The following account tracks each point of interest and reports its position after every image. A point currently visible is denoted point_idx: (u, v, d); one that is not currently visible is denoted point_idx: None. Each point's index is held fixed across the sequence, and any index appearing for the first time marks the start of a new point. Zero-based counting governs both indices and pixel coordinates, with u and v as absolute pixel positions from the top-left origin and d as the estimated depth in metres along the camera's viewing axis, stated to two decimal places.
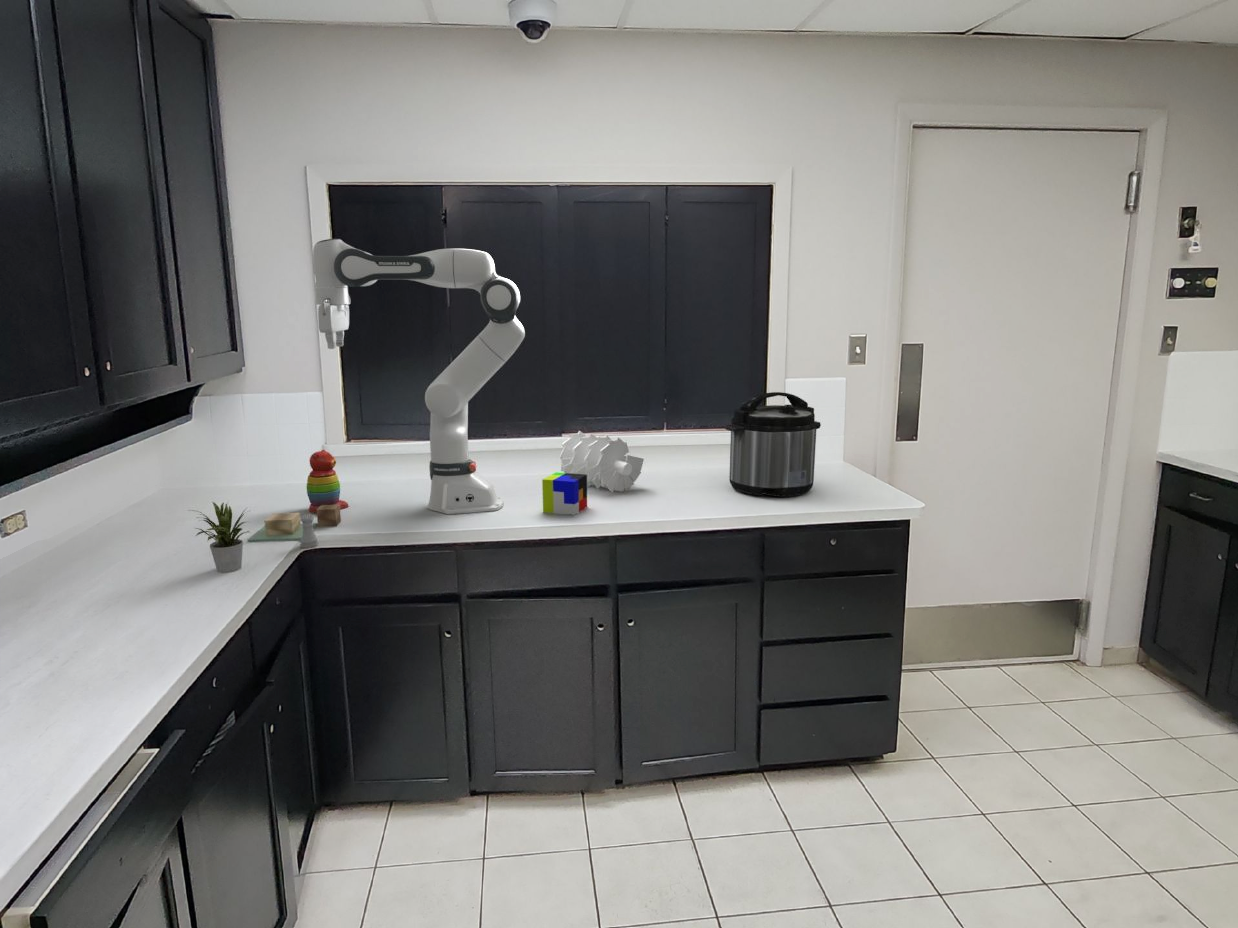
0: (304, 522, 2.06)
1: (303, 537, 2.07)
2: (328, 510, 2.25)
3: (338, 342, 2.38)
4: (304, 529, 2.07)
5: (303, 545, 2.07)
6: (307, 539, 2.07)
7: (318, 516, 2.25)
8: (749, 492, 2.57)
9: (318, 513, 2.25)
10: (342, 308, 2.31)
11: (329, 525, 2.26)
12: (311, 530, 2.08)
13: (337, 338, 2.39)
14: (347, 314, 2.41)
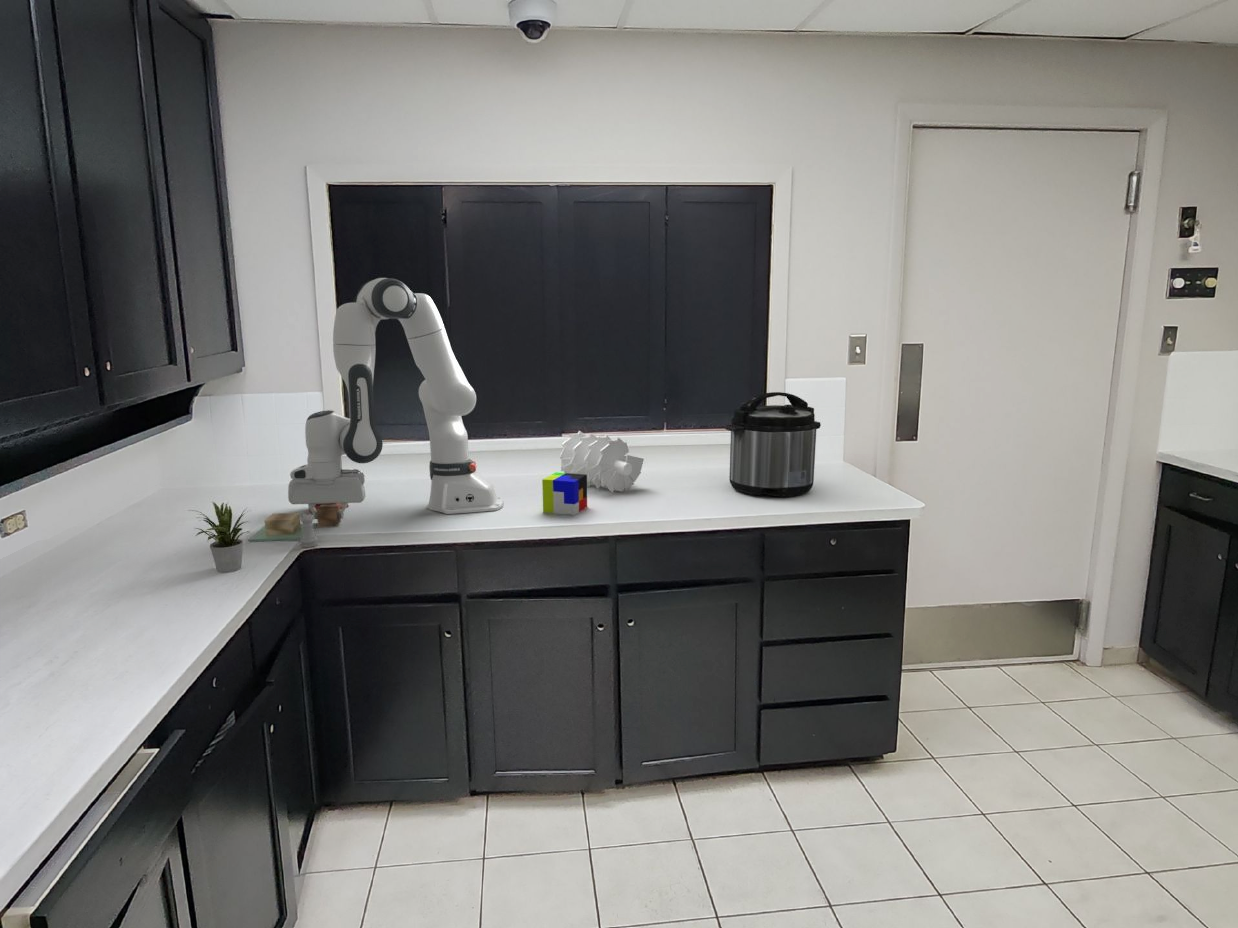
0: (304, 522, 2.06)
1: (303, 537, 2.07)
2: (328, 510, 2.25)
3: None
4: (304, 529, 2.07)
5: (303, 545, 2.07)
6: (307, 539, 2.07)
7: (318, 516, 2.25)
8: (749, 492, 2.57)
9: (318, 513, 2.25)
10: None
11: (329, 525, 2.26)
12: (311, 530, 2.08)
13: (314, 511, 2.27)
14: None
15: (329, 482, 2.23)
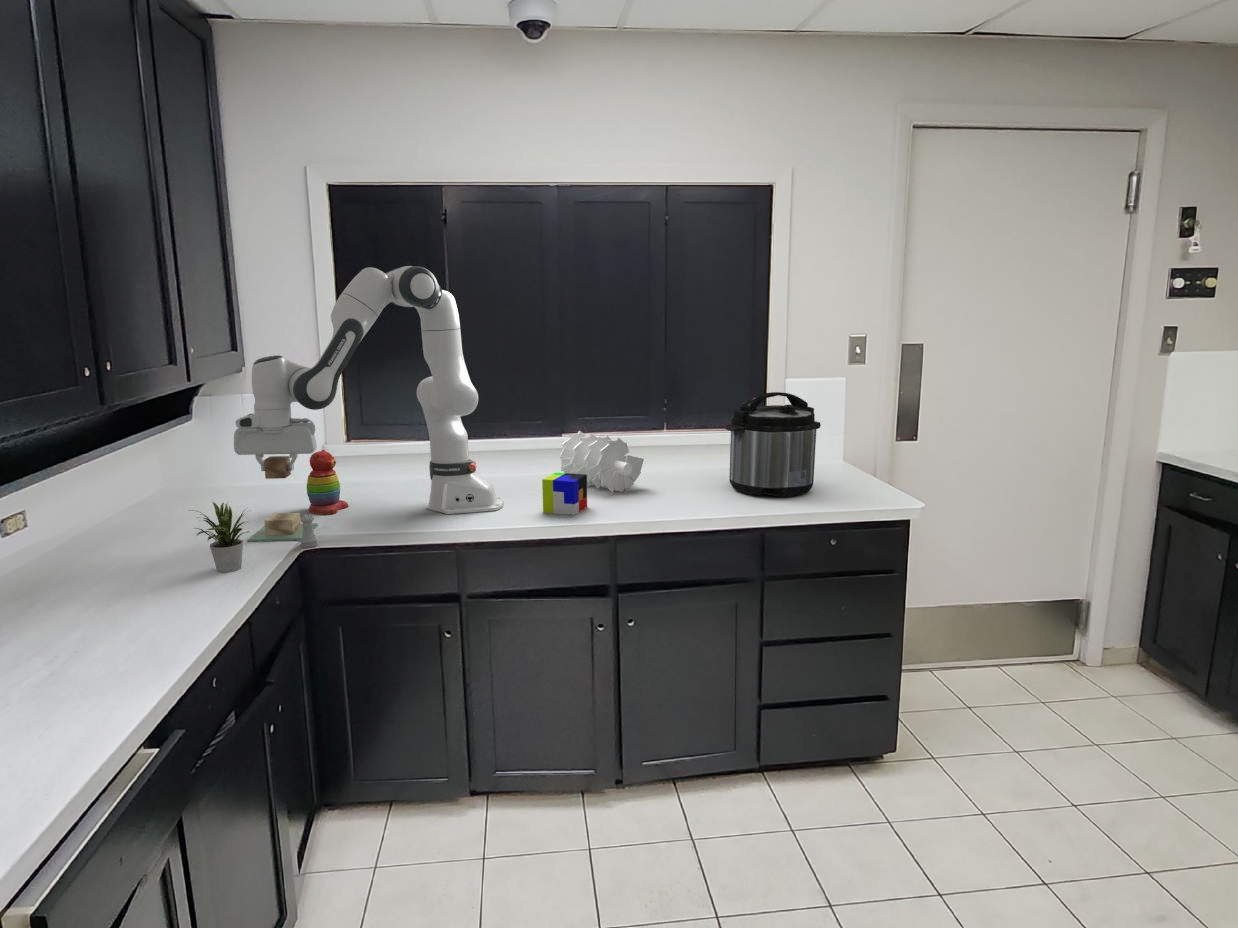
0: (304, 522, 2.06)
1: (303, 537, 2.07)
2: (276, 461, 2.13)
3: None
4: (304, 529, 2.07)
5: (303, 545, 2.07)
6: (307, 539, 2.07)
7: (265, 467, 2.13)
8: (749, 492, 2.57)
9: (265, 464, 2.13)
10: None
11: (277, 477, 2.14)
12: (311, 530, 2.08)
13: (262, 462, 2.15)
14: None
15: (277, 431, 2.12)
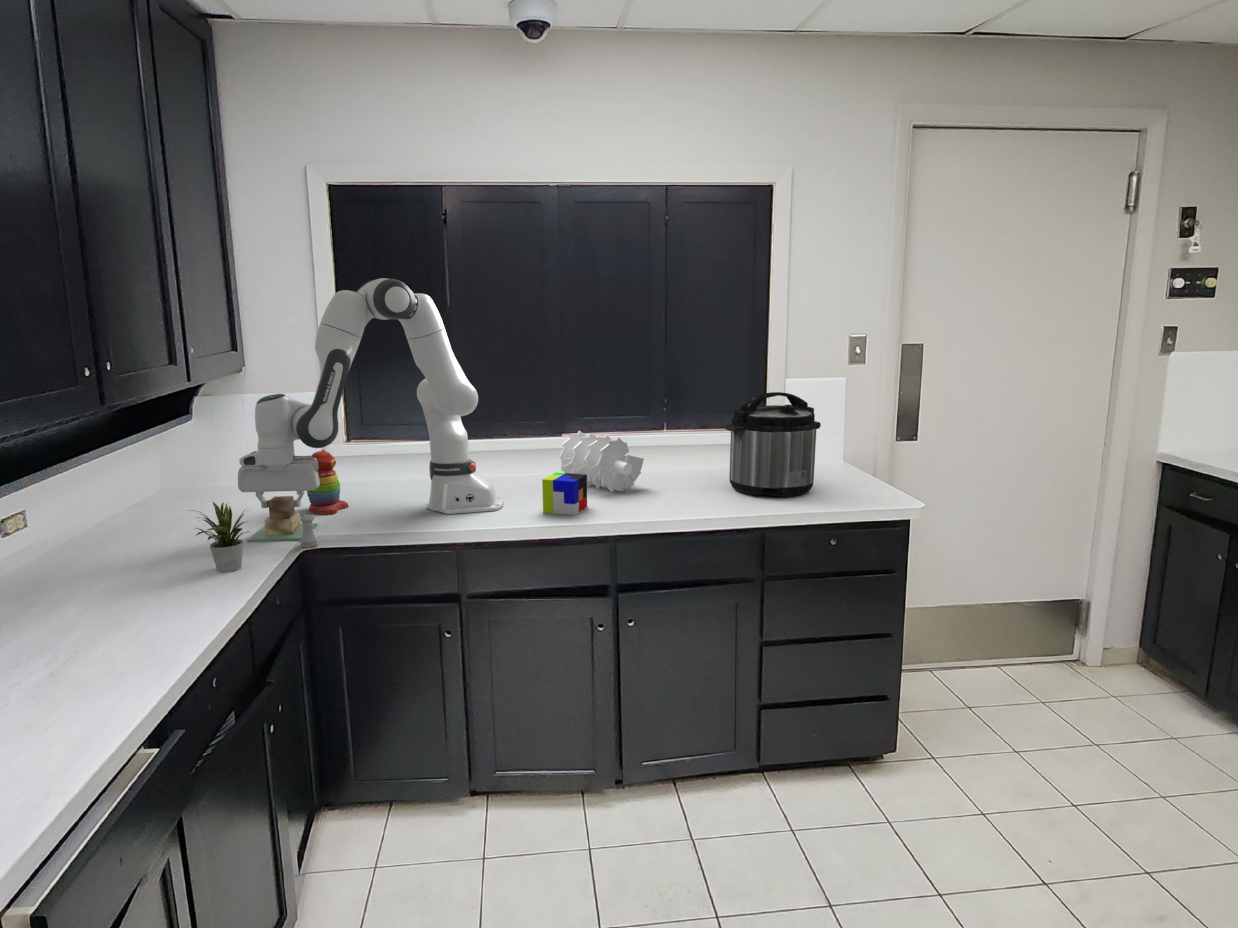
0: (304, 522, 2.06)
1: (303, 537, 2.07)
2: (280, 502, 2.16)
3: (267, 503, 2.18)
4: (304, 529, 2.07)
5: (303, 545, 2.07)
6: (307, 539, 2.07)
7: (270, 508, 2.16)
8: (749, 492, 2.57)
9: (270, 505, 2.16)
10: None
11: (281, 517, 2.17)
12: (311, 530, 2.08)
13: (262, 499, 2.17)
14: None
15: (280, 469, 2.14)
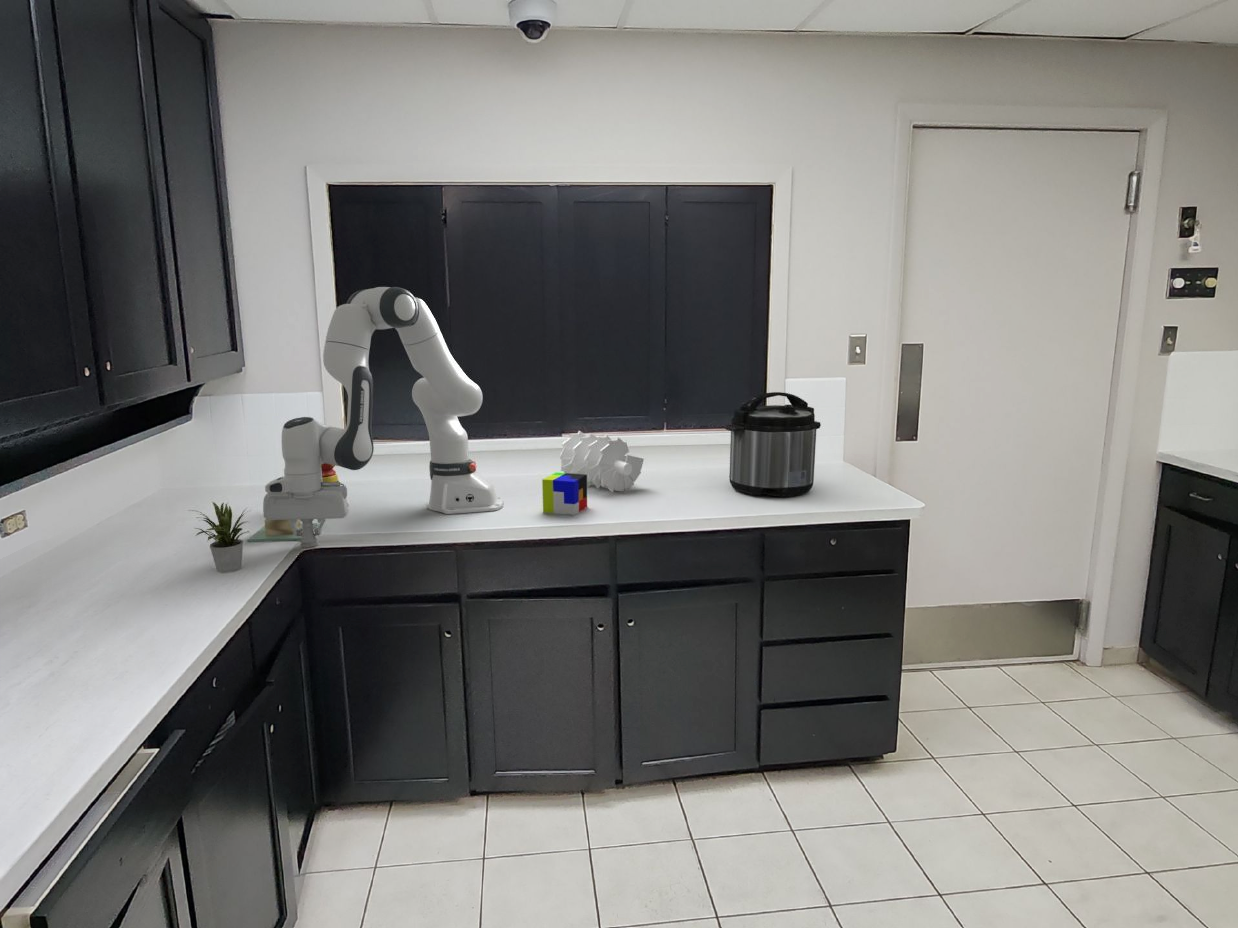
0: (304, 522, 2.06)
1: (303, 537, 2.07)
2: None
3: (300, 531, 2.08)
4: (304, 529, 2.07)
5: (303, 545, 2.07)
6: (307, 539, 2.07)
7: None
8: (749, 492, 2.57)
9: None
10: None
11: None
12: (311, 530, 2.08)
13: (295, 527, 2.07)
14: None
15: (308, 496, 2.04)
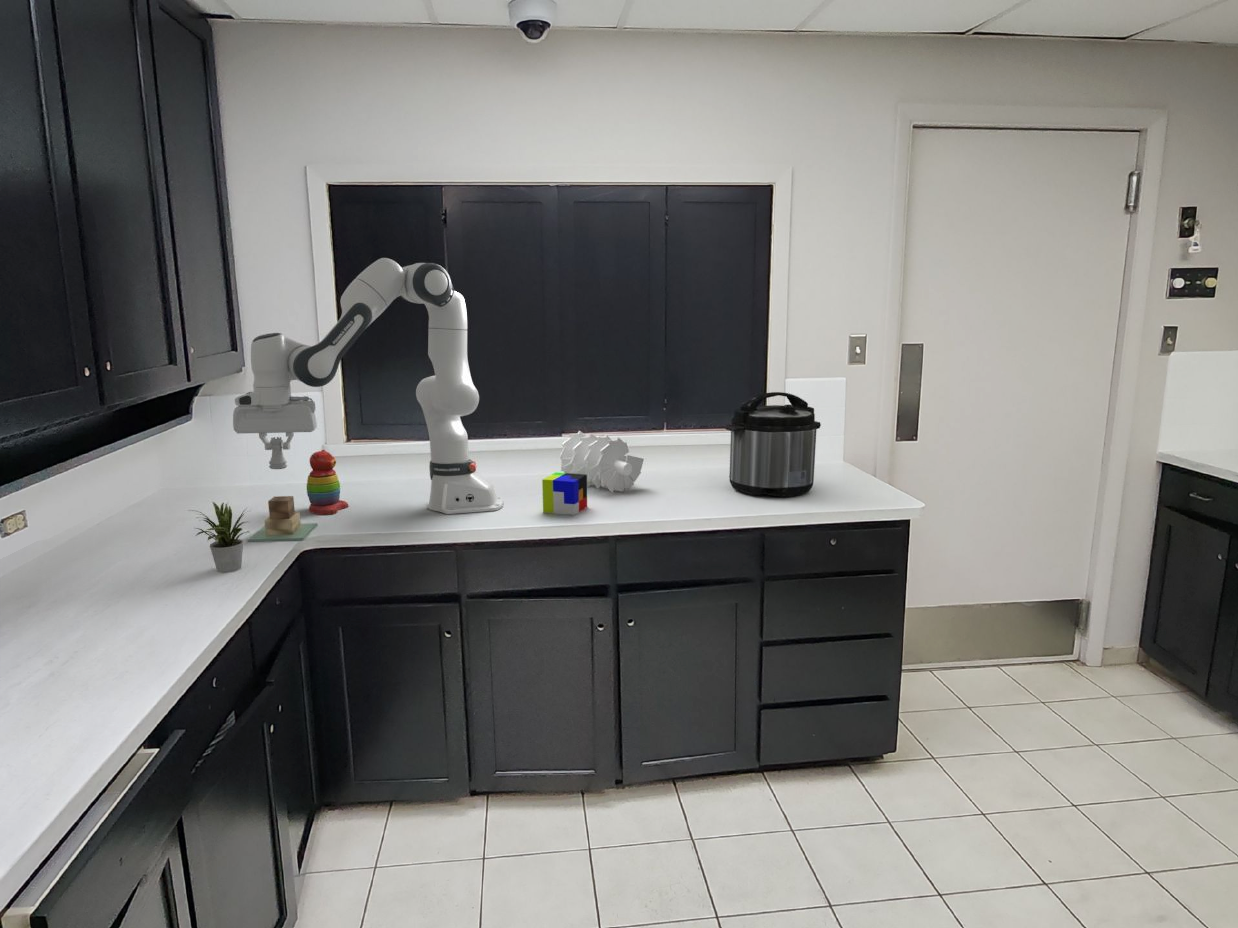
0: (273, 444, 2.13)
1: (272, 459, 2.13)
2: (280, 502, 2.16)
3: (270, 445, 2.14)
4: (273, 451, 2.13)
5: (272, 466, 2.13)
6: (276, 461, 2.13)
7: (270, 508, 2.16)
8: (749, 492, 2.57)
9: (270, 505, 2.16)
10: None
11: (281, 517, 2.17)
12: (280, 452, 2.14)
13: (265, 441, 2.13)
14: None
15: (277, 409, 2.10)
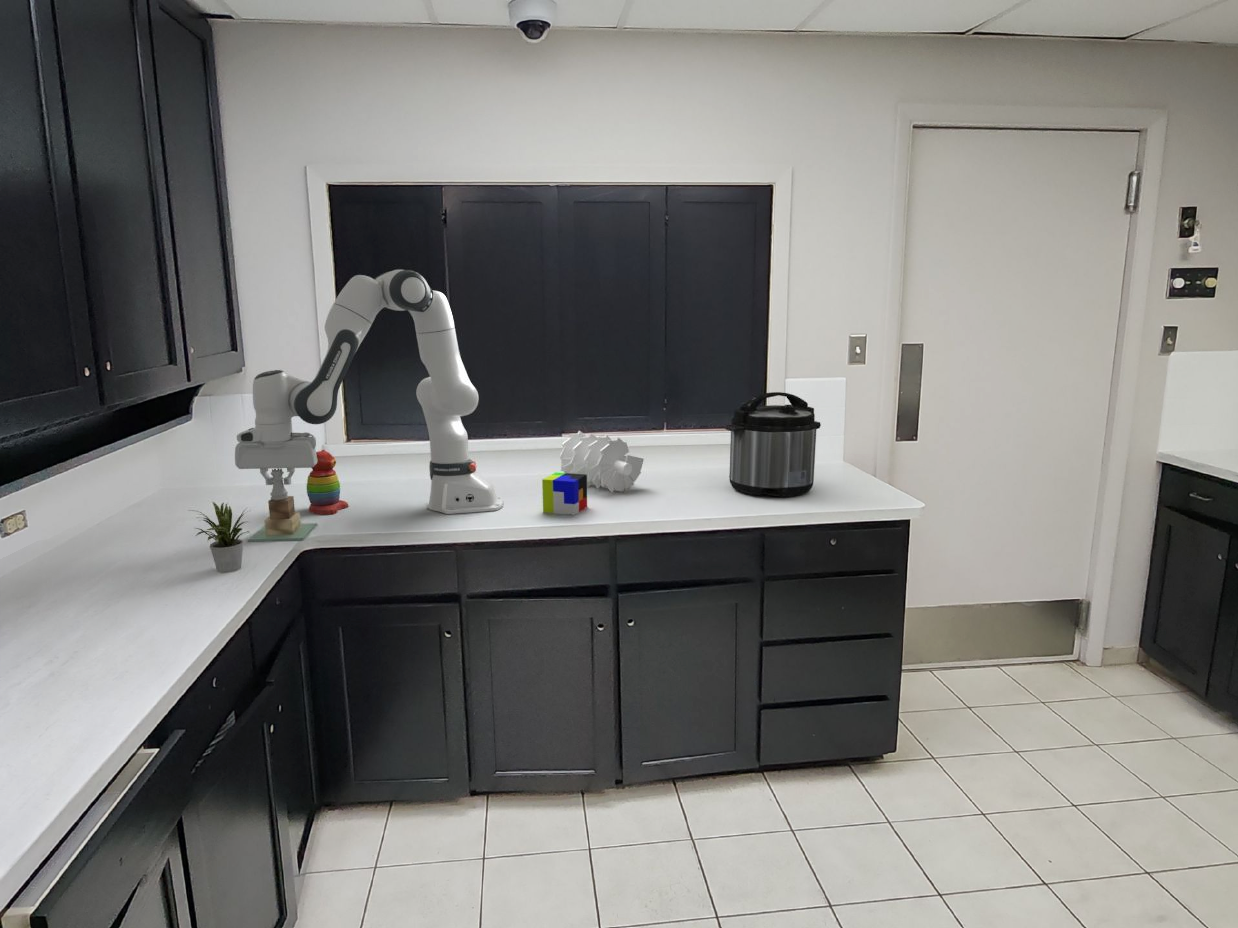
0: (274, 476, 2.15)
1: (273, 490, 2.16)
2: (280, 502, 2.16)
3: (271, 480, 2.17)
4: (274, 482, 2.16)
5: (273, 498, 2.16)
6: (277, 492, 2.16)
7: (270, 508, 2.16)
8: (749, 492, 2.57)
9: (270, 505, 2.16)
10: None
11: (281, 517, 2.17)
12: (281, 483, 2.16)
13: (266, 476, 2.16)
14: None
15: (278, 445, 2.12)
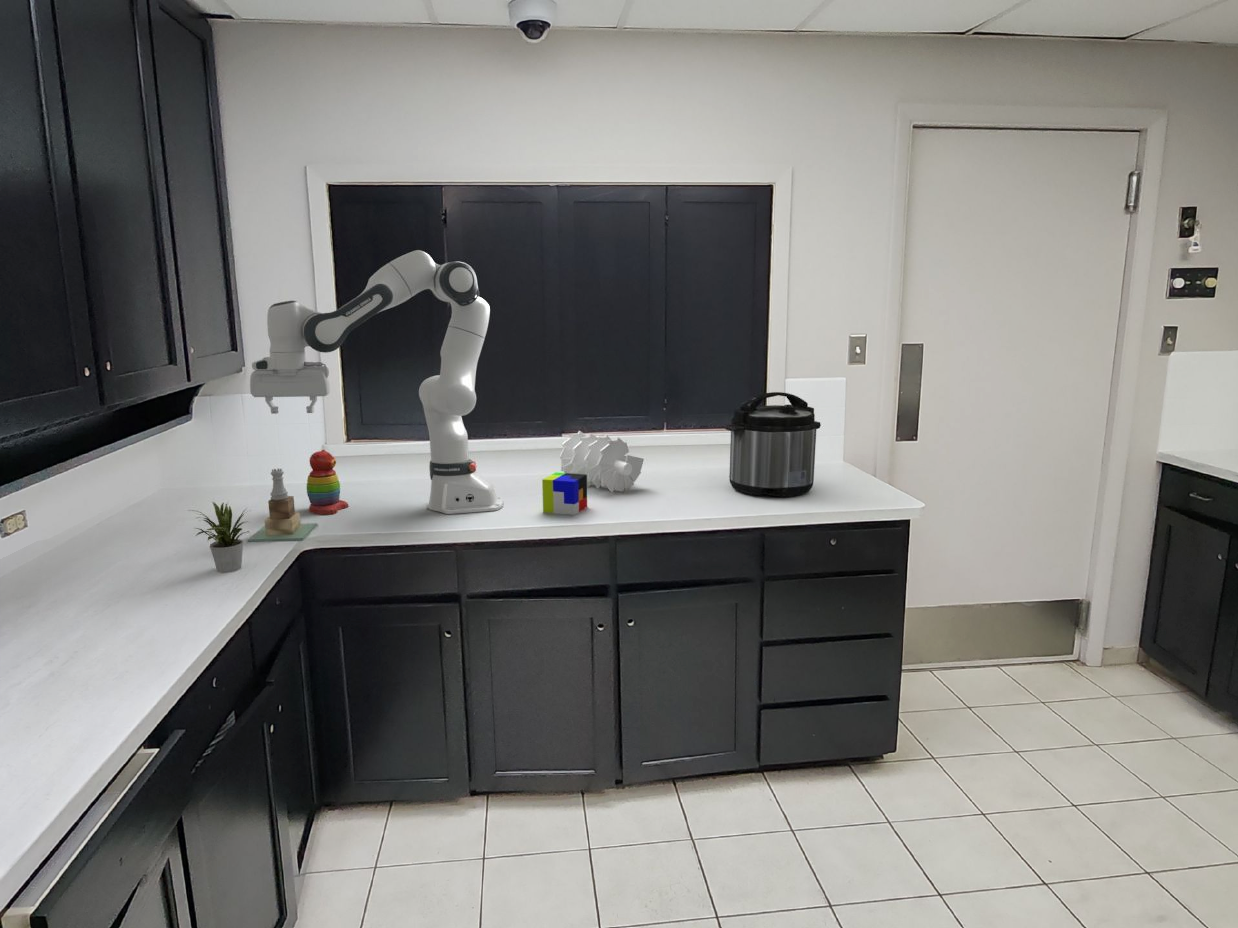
0: (274, 476, 2.15)
1: (273, 490, 2.16)
2: (280, 502, 2.16)
3: (276, 409, 2.23)
4: (274, 482, 2.16)
5: (273, 498, 2.16)
6: (277, 492, 2.16)
7: (270, 508, 2.16)
8: (749, 492, 2.57)
9: (270, 505, 2.16)
10: None
11: (281, 517, 2.17)
12: (281, 483, 2.16)
13: (271, 405, 2.22)
14: None
15: (292, 374, 2.19)
